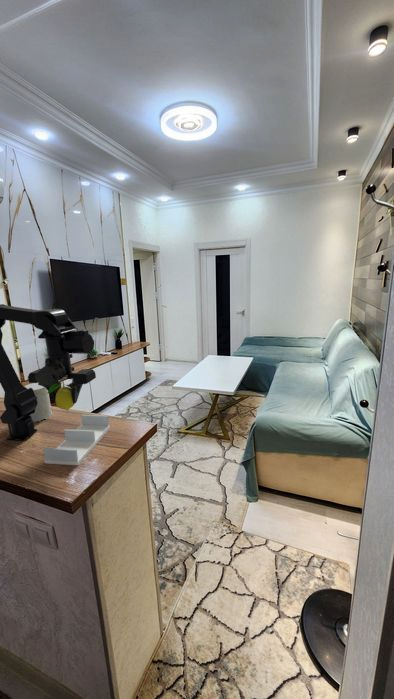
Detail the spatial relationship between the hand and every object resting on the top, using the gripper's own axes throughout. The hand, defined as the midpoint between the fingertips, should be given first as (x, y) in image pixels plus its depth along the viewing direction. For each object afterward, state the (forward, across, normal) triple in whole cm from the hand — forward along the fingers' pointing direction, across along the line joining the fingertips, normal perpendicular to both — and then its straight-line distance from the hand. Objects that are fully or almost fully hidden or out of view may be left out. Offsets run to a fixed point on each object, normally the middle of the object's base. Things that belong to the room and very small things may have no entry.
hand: (66, 402), depth 88 cm
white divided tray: (+13, +4, -1) cm, 13 cm away
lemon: (+3, 0, 0) cm, 3 cm away
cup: (+13, -22, +14) cm, 29 cm away
